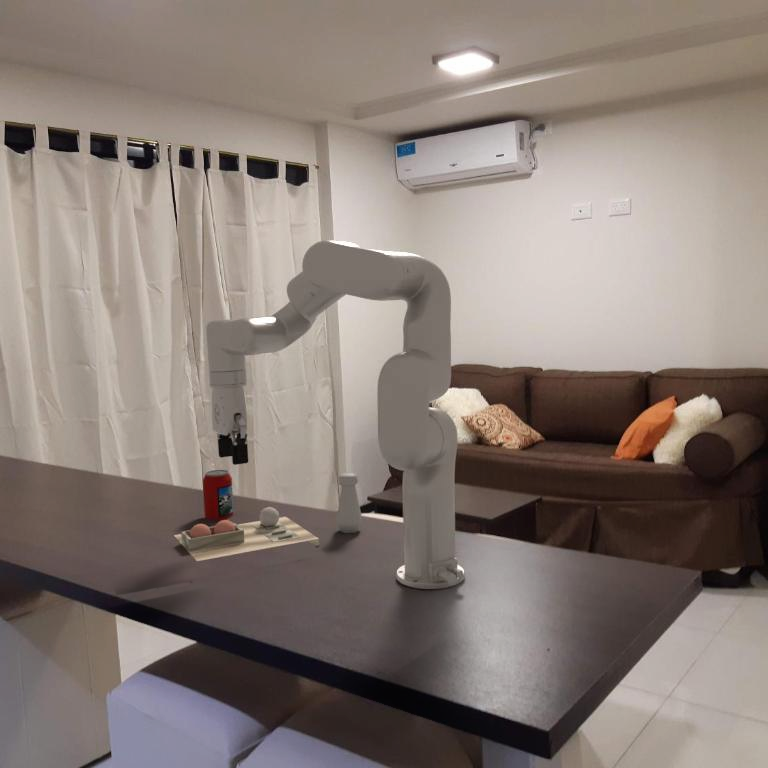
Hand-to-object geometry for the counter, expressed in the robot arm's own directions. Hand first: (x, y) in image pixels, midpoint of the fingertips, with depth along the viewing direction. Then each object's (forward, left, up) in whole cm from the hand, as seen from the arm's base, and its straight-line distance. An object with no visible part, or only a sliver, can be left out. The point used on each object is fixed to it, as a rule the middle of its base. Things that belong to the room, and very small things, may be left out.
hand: (233, 460), depth 162 cm
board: (+1, -2, -19) cm, 19 cm away
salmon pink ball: (+1, +2, -17) cm, 18 cm away
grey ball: (+5, -9, -17) cm, 20 cm away
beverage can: (+21, -2, -19) cm, 29 cm away
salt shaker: (-3, -25, -19) cm, 32 cm away
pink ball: (+2, +8, -17) cm, 19 cm away
